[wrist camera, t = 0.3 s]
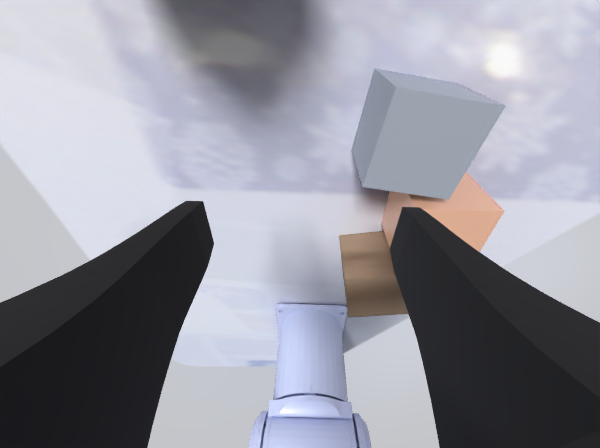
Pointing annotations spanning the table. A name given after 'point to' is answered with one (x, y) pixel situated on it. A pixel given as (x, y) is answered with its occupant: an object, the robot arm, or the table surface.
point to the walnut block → (370, 276)
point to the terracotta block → (450, 212)
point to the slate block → (420, 133)
